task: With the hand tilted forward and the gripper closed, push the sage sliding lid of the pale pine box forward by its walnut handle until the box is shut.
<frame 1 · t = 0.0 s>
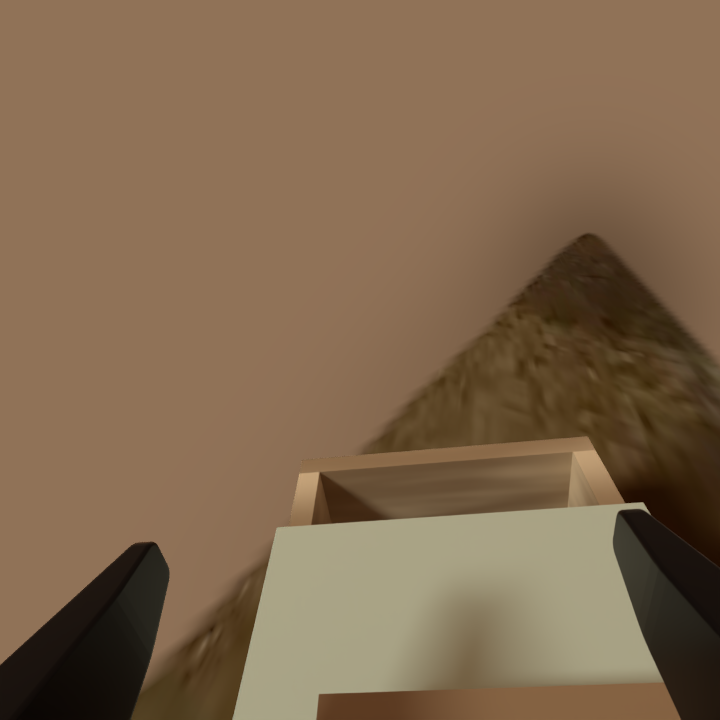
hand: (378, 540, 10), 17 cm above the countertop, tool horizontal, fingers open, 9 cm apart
lid: (470, 612, 15), point 10 cm above the countertop, slide at 5.5 cm
box: (459, 632, 25), on the countertop
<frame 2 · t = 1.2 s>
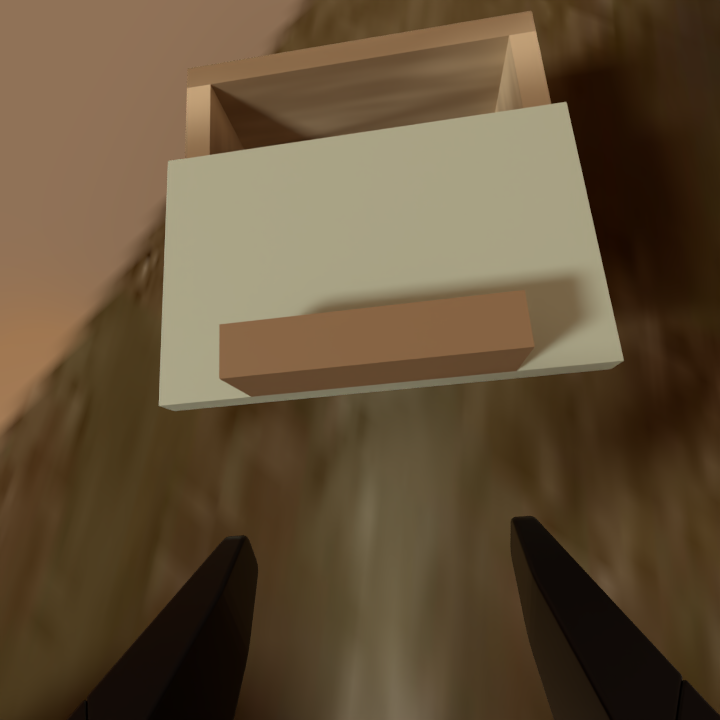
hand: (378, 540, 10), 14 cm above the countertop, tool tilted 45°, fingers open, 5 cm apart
lid: (366, 237, 15), point 10 cm above the countertop, slide at 5.5 cm
box: (379, 238, 27), on the countertop
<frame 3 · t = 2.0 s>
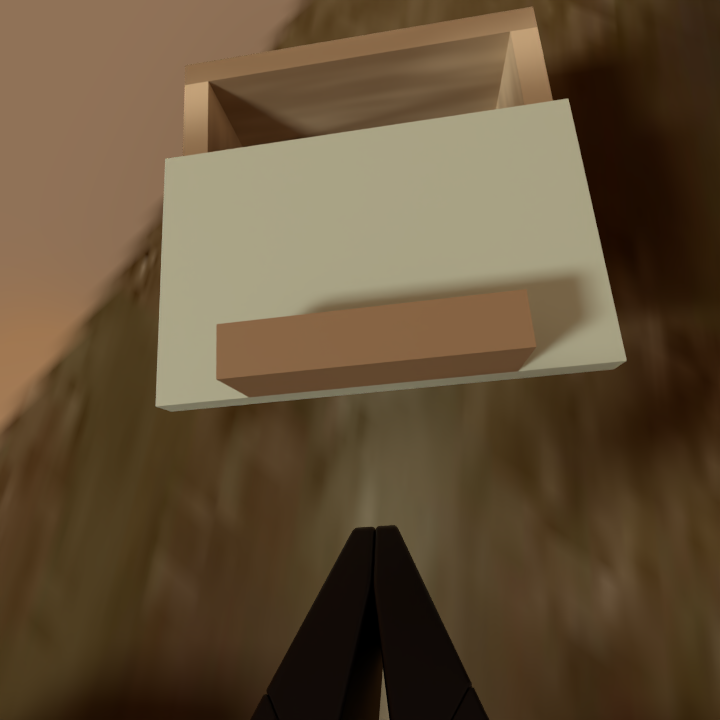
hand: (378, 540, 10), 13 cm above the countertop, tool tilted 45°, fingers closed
lid: (365, 236, 15), point 10 cm above the countertop, slide at 5.5 cm
box: (379, 237, 26), on the countertop
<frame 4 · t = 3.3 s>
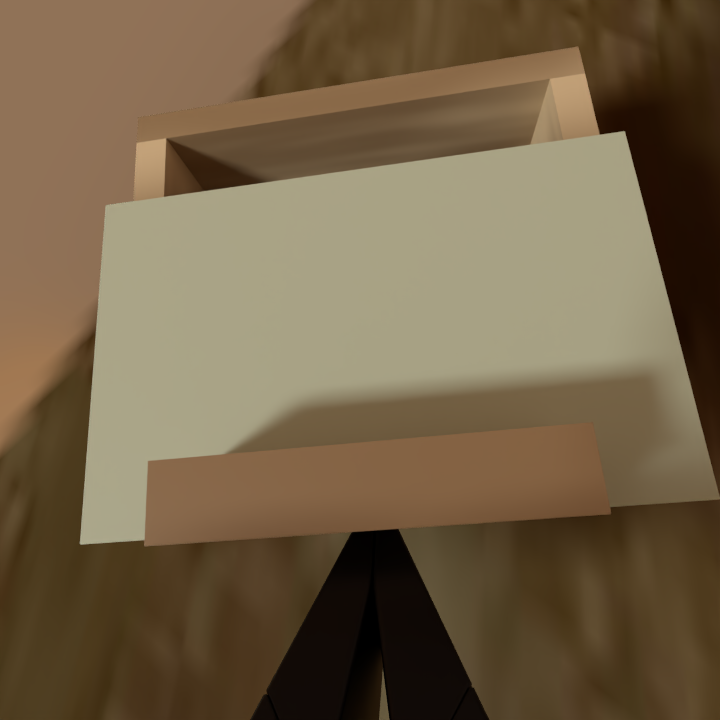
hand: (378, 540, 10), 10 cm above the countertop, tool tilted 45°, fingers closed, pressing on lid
lid: (360, 318, 11), point 10 cm above the countertop, slide at 4.1 cm, touching gripper
box: (381, 308, 22), on the countertop
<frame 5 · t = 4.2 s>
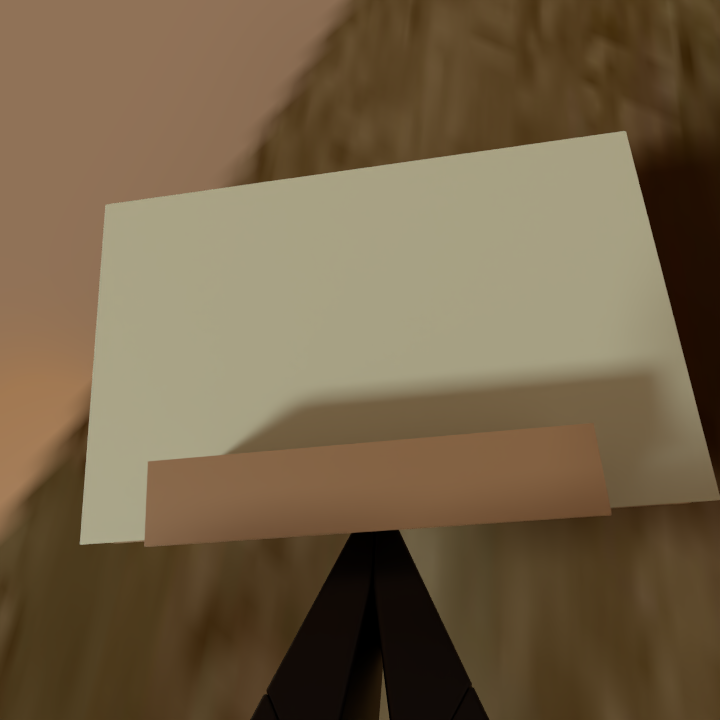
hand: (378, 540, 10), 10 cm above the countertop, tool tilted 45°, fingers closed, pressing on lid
lid: (360, 318, 11), point 10 cm above the countertop, slide at -0.1 cm, touching gripper
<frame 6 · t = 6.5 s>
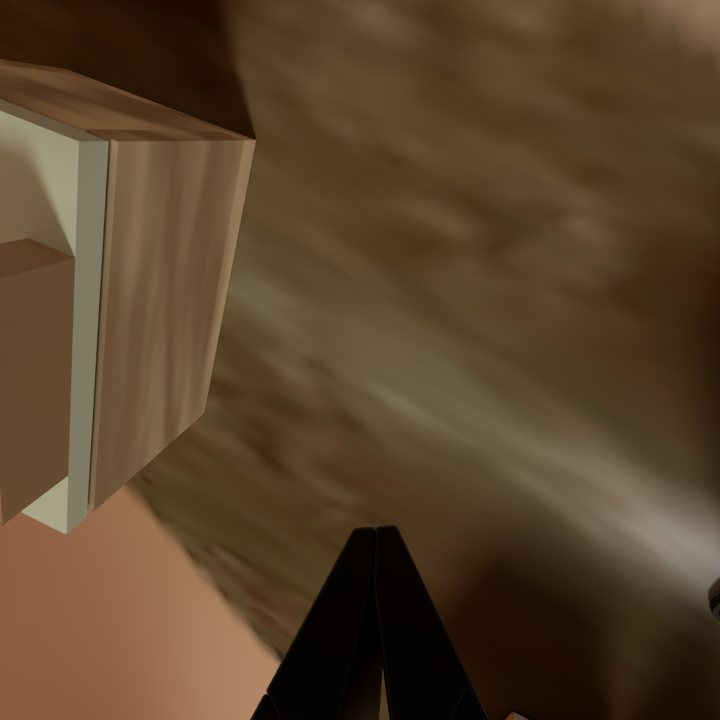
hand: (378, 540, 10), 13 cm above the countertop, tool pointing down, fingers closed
box: (143, 260, 24), on the countertop
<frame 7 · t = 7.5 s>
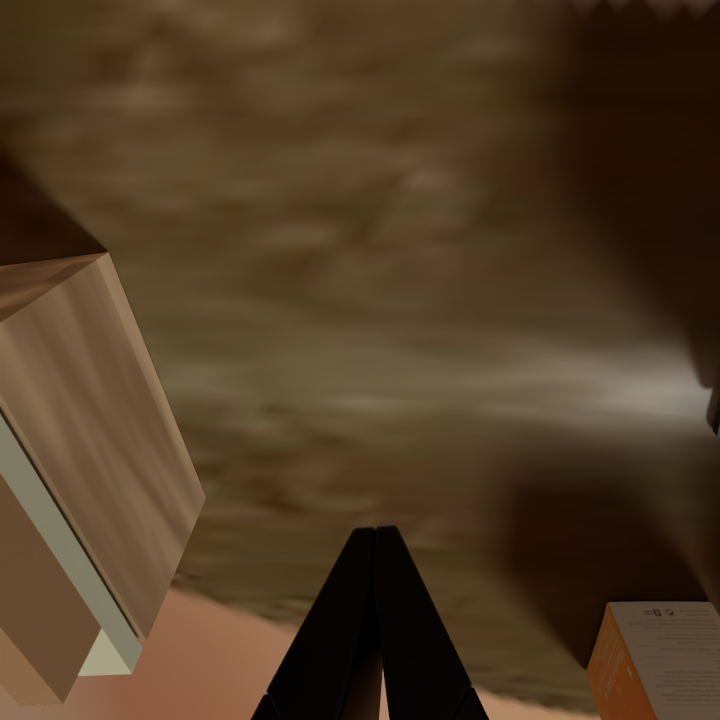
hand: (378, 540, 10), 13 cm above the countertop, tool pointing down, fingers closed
small box: (641, 634, 32), on the countertop
box: (77, 400, 25), on the countertop
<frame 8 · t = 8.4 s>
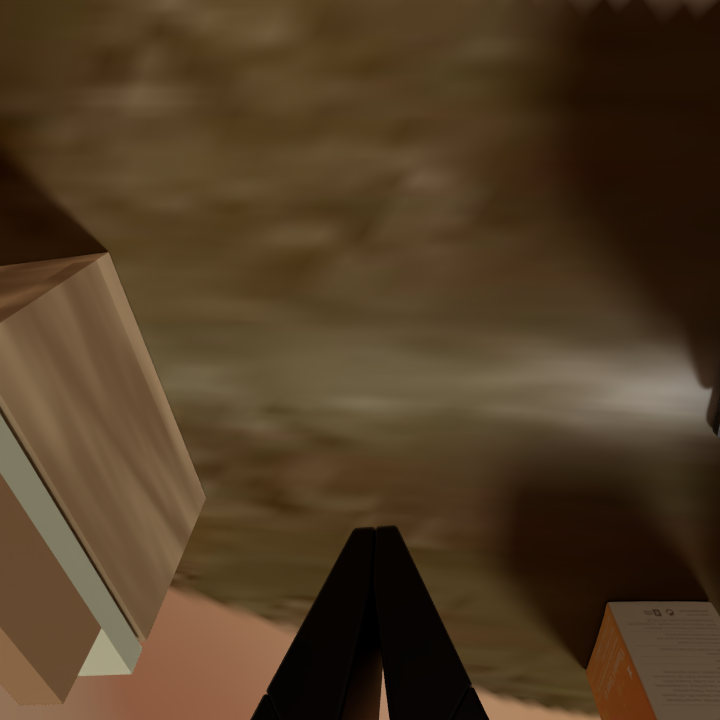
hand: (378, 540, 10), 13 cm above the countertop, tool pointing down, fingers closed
small box: (641, 634, 32), on the countertop
box: (77, 400, 25), on the countertop
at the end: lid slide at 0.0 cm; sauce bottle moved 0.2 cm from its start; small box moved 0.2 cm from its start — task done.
